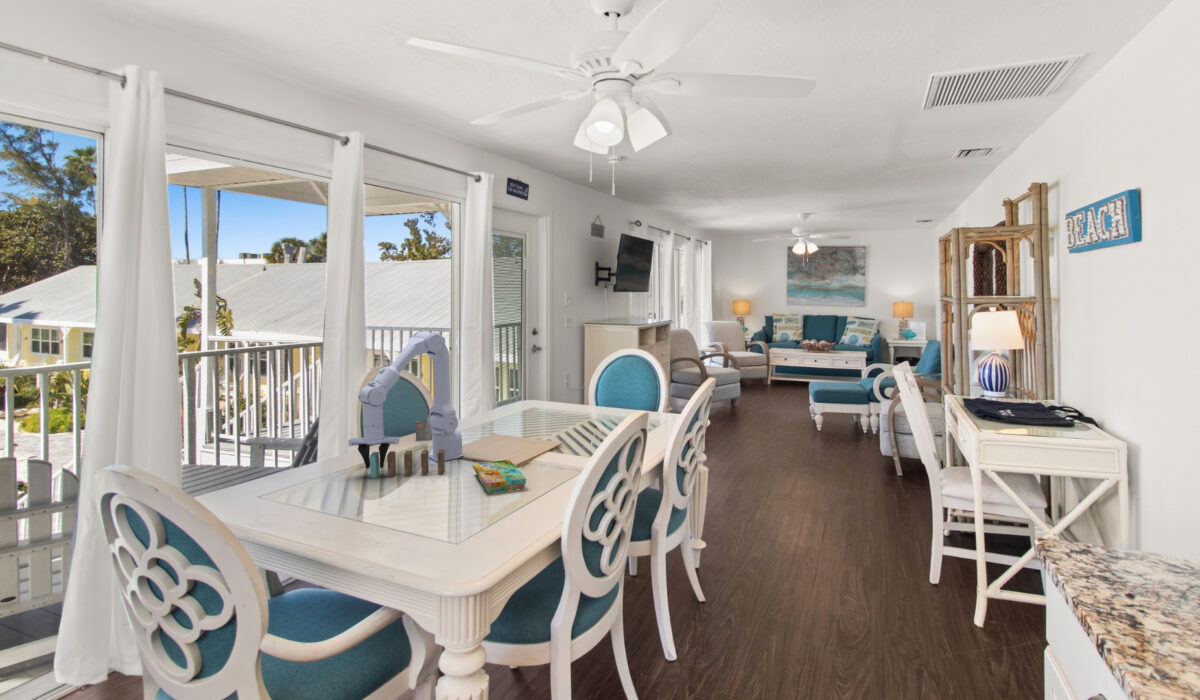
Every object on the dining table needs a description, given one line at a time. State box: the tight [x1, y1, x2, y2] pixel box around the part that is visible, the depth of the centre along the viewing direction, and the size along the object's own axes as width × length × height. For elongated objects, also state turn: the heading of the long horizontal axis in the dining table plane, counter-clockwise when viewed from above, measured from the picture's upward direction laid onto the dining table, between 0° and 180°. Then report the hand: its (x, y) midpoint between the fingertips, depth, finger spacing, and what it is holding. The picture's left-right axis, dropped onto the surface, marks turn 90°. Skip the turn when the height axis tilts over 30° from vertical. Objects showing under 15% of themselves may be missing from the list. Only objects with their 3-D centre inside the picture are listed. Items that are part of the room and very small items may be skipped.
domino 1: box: [369, 451, 381, 479], centre depth 181 cm, size 2×4×7 cm, turn 7°
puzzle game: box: [472, 459, 527, 494], centre depth 176 cm, size 12×5×20 cm
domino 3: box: [403, 449, 413, 478], centre depth 183 cm, size 2×4×7 cm, turn 9°
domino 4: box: [420, 449, 430, 477], centre depth 183 cm, size 2×4×7 cm, turn 9°
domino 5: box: [437, 449, 446, 476], centre depth 184 cm, size 2×4×7 cm, turn 9°
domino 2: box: [386, 450, 397, 478], centre depth 182 cm, size 2×4×7 cm, turn 9°
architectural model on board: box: [414, 420, 432, 442], centre depth 225 cm, size 11×3×10 cm, turn 100°
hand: (375, 467), depth 181 cm, fingers open, 3 cm apart
